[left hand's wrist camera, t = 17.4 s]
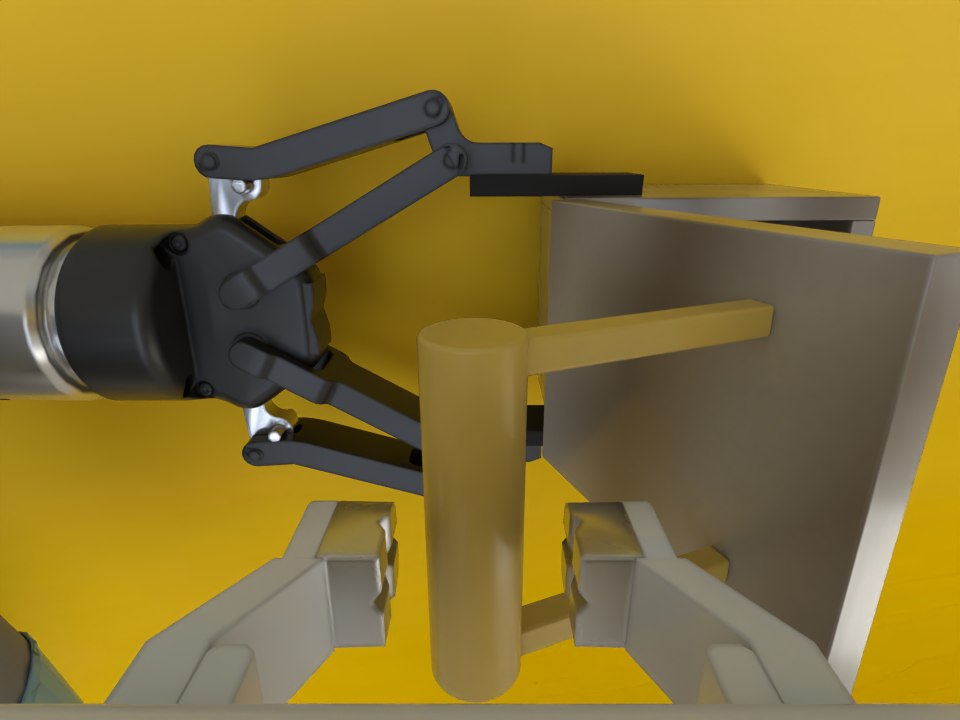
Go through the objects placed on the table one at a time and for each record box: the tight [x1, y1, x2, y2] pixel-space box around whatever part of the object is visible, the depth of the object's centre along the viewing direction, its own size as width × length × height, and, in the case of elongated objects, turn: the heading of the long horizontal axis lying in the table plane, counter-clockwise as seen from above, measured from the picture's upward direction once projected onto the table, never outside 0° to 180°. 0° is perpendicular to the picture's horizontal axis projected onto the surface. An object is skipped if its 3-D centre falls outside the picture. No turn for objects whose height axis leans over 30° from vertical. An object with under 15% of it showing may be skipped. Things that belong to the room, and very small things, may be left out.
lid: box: [417, 199, 960, 702], centre depth 15 cm, size 12×10×9 cm
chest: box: [538, 184, 880, 400], centre depth 26 cm, size 11×10×9 cm
